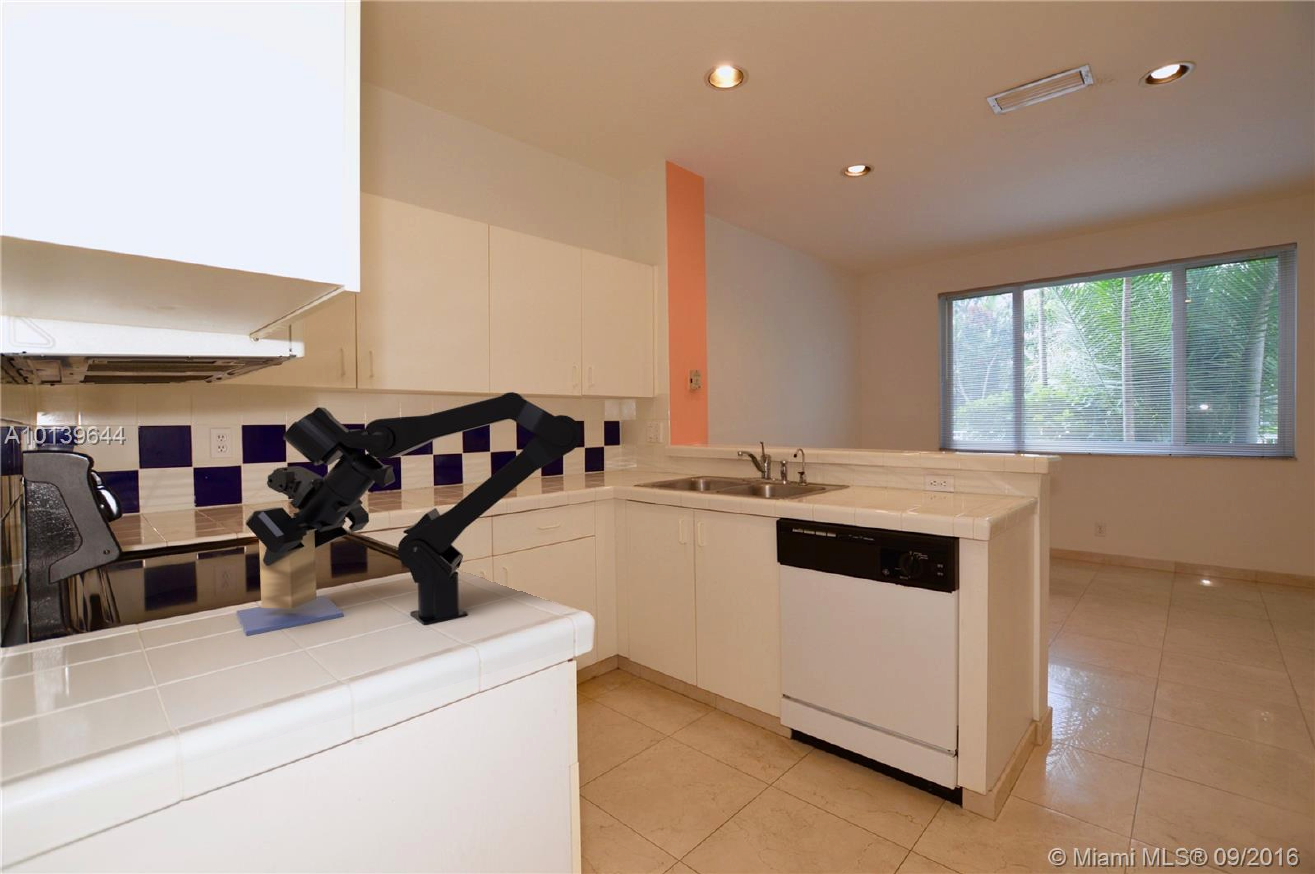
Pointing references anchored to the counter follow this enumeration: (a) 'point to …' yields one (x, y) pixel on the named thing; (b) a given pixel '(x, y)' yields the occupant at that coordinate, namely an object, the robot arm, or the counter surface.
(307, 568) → the oak block
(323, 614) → the blue tile
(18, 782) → the counter surface
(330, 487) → the robot arm
